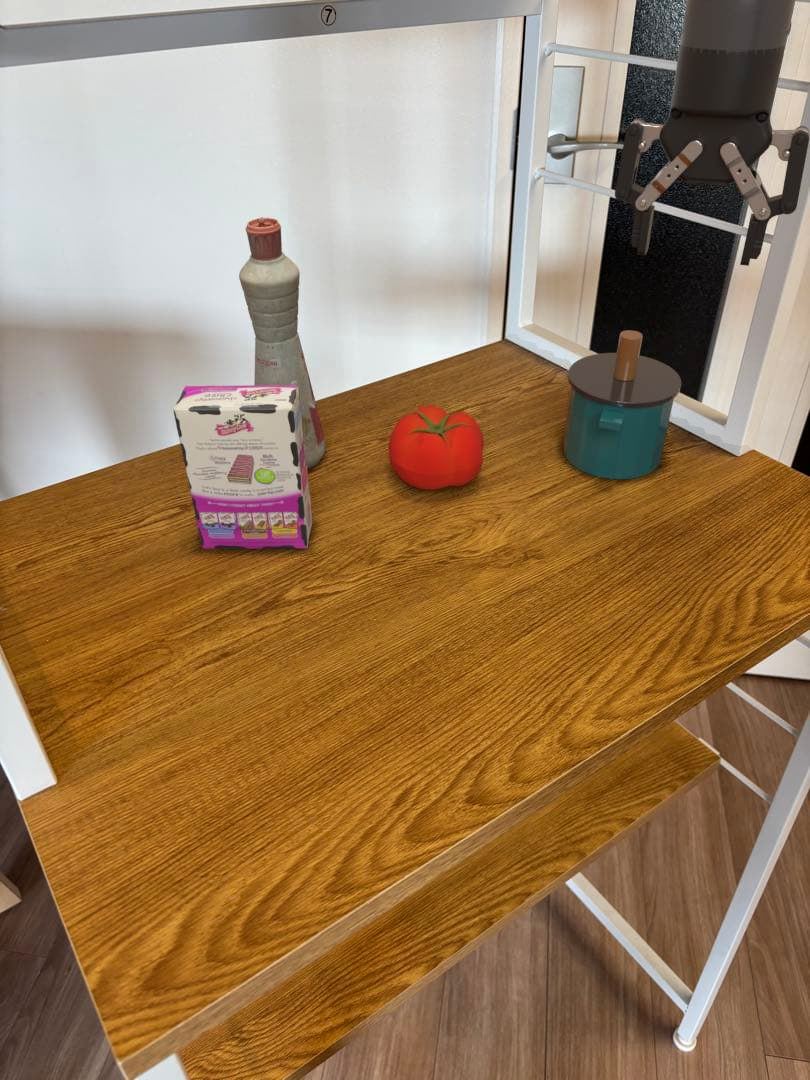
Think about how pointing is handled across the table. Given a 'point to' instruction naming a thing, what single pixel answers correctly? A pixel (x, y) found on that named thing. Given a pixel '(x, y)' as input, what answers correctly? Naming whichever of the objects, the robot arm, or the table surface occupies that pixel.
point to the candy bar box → (246, 465)
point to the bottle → (279, 325)
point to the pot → (614, 437)
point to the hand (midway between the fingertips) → (693, 257)
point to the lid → (624, 376)
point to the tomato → (436, 448)
